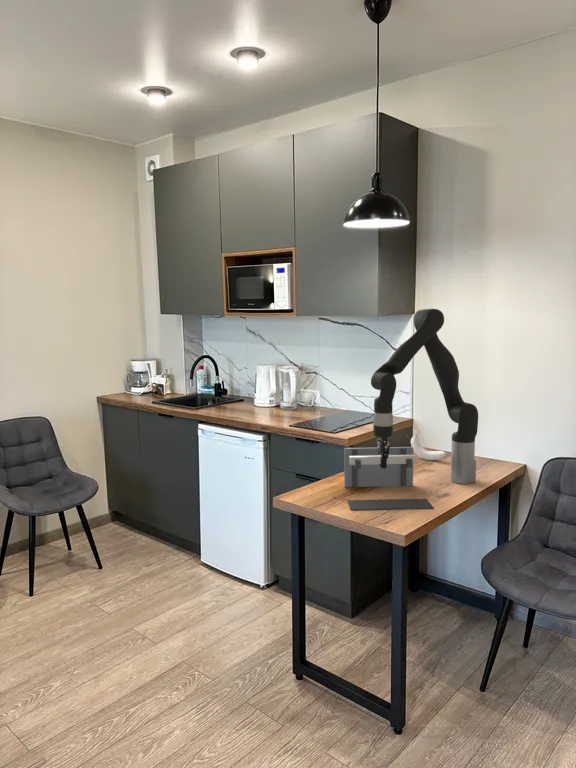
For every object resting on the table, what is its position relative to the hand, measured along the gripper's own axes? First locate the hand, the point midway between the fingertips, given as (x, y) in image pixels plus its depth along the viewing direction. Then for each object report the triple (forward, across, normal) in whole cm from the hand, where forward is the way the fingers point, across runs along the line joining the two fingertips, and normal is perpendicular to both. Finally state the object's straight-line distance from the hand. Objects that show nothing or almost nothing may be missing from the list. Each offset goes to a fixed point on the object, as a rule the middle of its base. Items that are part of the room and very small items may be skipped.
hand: (382, 466), depth 224 cm
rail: (-1, 0, 0) cm, 1 cm away
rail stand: (+11, +4, 0) cm, 11 cm away
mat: (+11, -14, 0) cm, 18 cm away
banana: (+11, +49, -31) cm, 59 cm away
